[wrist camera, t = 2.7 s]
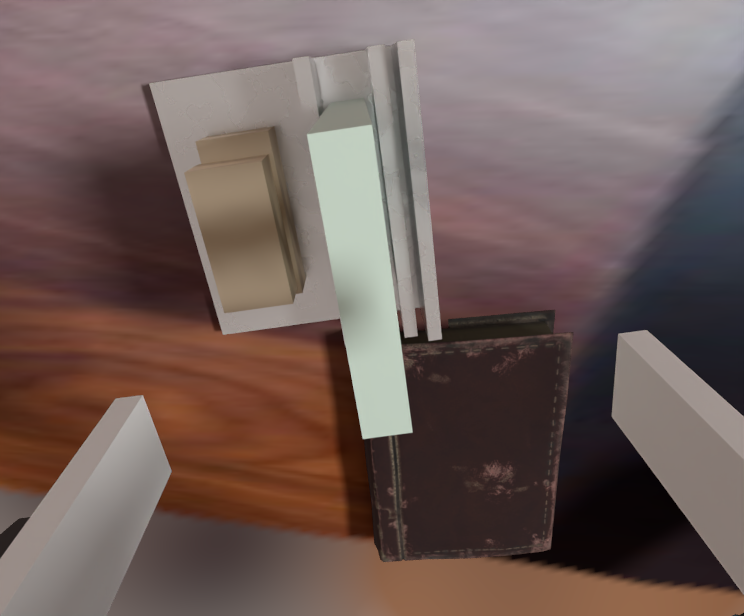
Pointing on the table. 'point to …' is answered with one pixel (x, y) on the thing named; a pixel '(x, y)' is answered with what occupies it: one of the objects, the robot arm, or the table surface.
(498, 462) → the diary
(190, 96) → the rack
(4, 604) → the robot arm
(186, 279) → the table surface
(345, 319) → the board
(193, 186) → the offcut upper
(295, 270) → the offcut lower
